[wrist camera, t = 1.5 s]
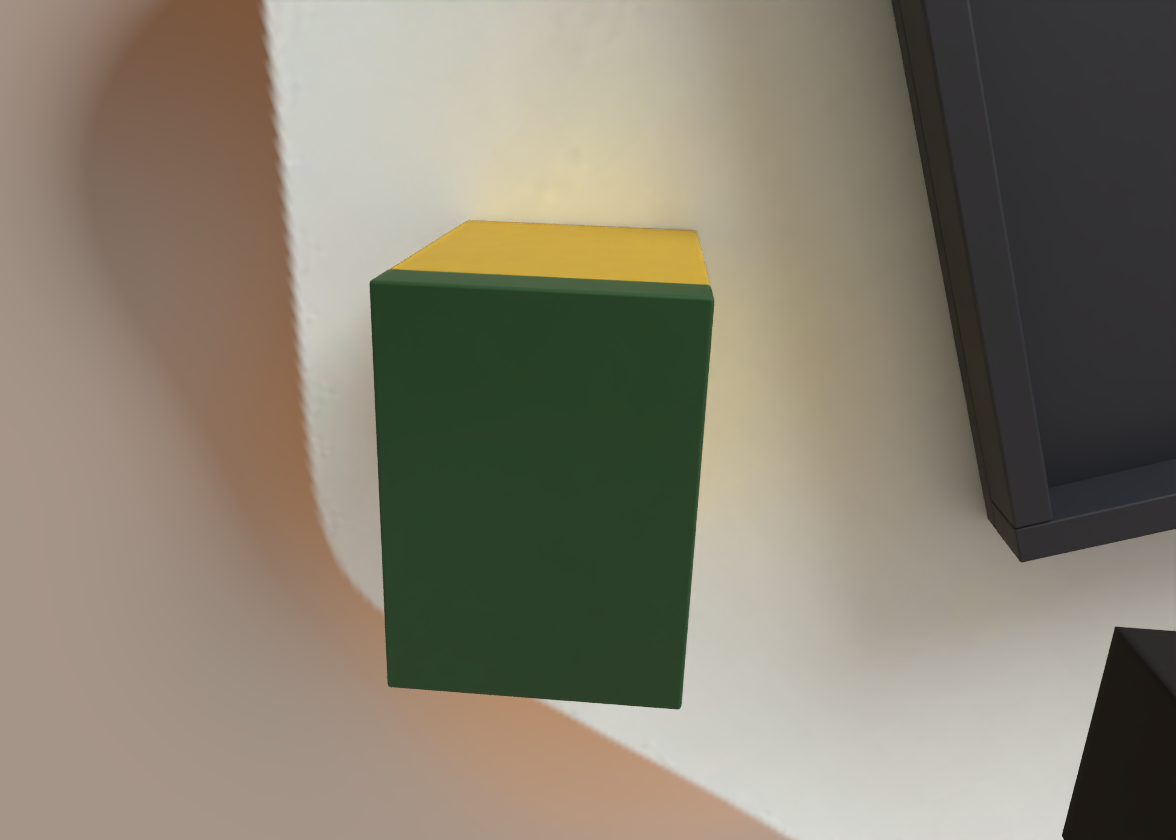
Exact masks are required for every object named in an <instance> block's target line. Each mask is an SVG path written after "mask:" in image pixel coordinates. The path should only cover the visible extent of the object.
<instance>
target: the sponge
mask: <svg viewBox="0 0 1176 840" xmlns="http://www.w3.org/2000/svg"><path fill="white" fill-rule="evenodd" d="M370 302H371V324H372V346H373V368H374V390H375V412H376V435H377V457H378V479H379V501H380V523H381V545H382V567H383V589H384V612H385V633H386V655H387V675H388V676H387V678H388V686H389V687H398V688H410V689H424V690H436V691H449V692H462V693H475V694H487V695H500V696H513V697H526V698H539V699H551V700H564V701H577V702H590V703H603V704H616V705H629V706H642V707H654V708H667V709H680V707H681V704H682V692H683V679H684V667H685V655H686V643H687V630H688V618H689V606H690V594H691V581H692V569H693V557H694V545H695V532H696V520H697V508H698V495H699V483H700V471H701V459H702V446H703V434H704V422H705V410H706V397H707V385H708V373H709V361H710V348H711V336H712V324H713V312H714V297H713V293H712V289H711V286H710V282H709V278H708V274H707V270H706V266H705V262H704V258H703V254H702V250H701V246H700V242H699V238H698V234H697V232H696V231H693V230H671V229H649V228H627V227H605V226H583V225H561V224H539V223H517V222H495V221H473V220H468V221H466V222H464V223H463V224H461V225H460V226H458V227H456V228H455V229H453V230H452V231H450V232H448V233H447V234H445V235H444V236H442V237H440V238H439V239H437V240H436V241H434V242H432V243H431V244H429V245H428V246H426V247H425V248H423V249H421V250H420V251H418V252H417V253H415V254H413V255H412V256H410V257H409V258H407V259H405V260H404V261H402V262H401V263H399V264H397V265H396V266H394V267H393V268H391V269H389V270H387V271H386V272H384V273H382V274H381V275H379V276H378V277H376V278H374V279H373V280H371V281H370Z"/></svg>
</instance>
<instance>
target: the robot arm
mask: <svg viewBox="0 0 1176 840" xmlns="http://www.w3.org/2000/svg"><path fill="white" fill-rule="evenodd" d="M1062 837H1063V839H1064V840H1176V631H1166V630H1152V629H1138V628H1125V627H1115V630H1114V633H1113V637H1112V641H1111V645H1110V649H1109V653H1108V657H1107V661H1106V665H1105V669H1104V673H1103V677H1102V680H1101V684H1100V688H1099V692H1098V696H1097V700H1096V704H1095V708H1094V712H1093V716H1092V720H1091V724H1090V728H1089V731H1088V735H1087V739H1086V743H1085V747H1084V751H1083V755H1082V759H1081V763H1080V767H1079V771H1078V775H1077V779H1076V782H1075V786H1074V790H1073V794H1072V798H1071V802H1070V806H1069V810H1068V814H1067V818H1066V822H1065V826H1064V829H1063V833H1062Z"/></svg>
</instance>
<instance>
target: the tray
mask: <svg viewBox="0 0 1176 840" xmlns="http://www.w3.org/2000/svg"><path fill="white" fill-rule="evenodd" d="M892 5H893V11H894V16H895V21H896V27H897V32H898V37H899V43H900V48H901V54H902V59H903V64H904V70H905V75H906V80H907V86H908V91H909V97H910V102H911V107H912V113H913V118H914V124H915V129H916V134H917V140H918V145H919V150H920V156H921V161H922V167H923V172H924V177H925V183H926V188H927V193H928V199H929V204H930V210H931V215H932V220H933V226H934V231H935V236H936V242H937V247H938V253H939V258H940V263H941V269H942V274H943V279H944V285H945V290H946V296H947V301H948V306H949V312H950V317H951V323H952V328H953V333H954V339H955V344H956V349H957V355H958V360H959V366H960V371H961V376H962V382H963V387H964V392H965V398H966V403H967V409H968V414H969V419H970V425H971V430H972V435H973V441H974V446H975V452H976V457H977V462H978V468H979V473H980V478H981V484H982V489H983V495H984V500H985V505H986V511H987V516H988V520H989V521H990V522H991V523H992V525H993V526H994V527H995V529H996V530H997V532H998V533H999V535H1000V536H1001V537H1002V538H1003V540H1004V541H1005V542H1006V544H1007V545H1008V546H1009V548H1010V549H1011V550H1012V552H1013V553H1014V554H1015V555H1016V557H1017V558H1018V559H1019V561H1020V562H1026V561H1030V560H1035V559H1040V558H1044V557H1049V556H1053V555H1058V554H1062V553H1067V552H1072V551H1076V550H1081V549H1085V548H1090V547H1094V546H1099V545H1104V544H1108V543H1113V542H1117V541H1122V540H1126V539H1131V538H1136V537H1140V536H1145V535H1149V534H1154V533H1158V532H1163V531H1168V530H1172V529H1176V0H892Z"/></svg>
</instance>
